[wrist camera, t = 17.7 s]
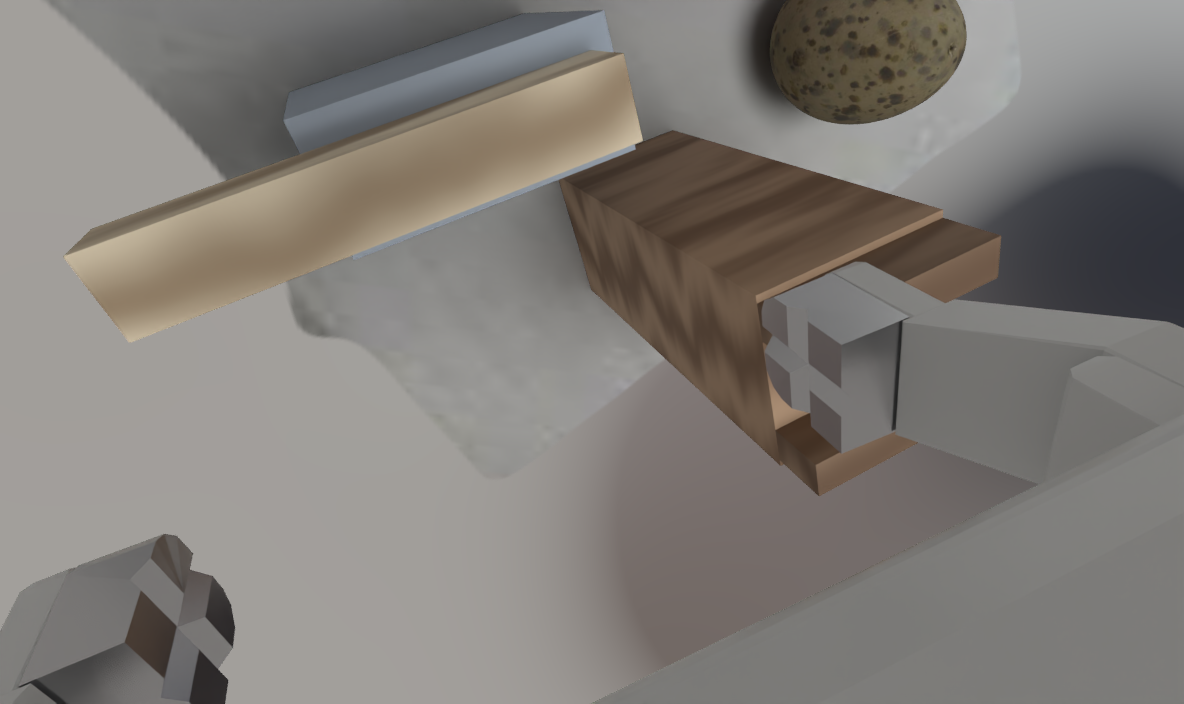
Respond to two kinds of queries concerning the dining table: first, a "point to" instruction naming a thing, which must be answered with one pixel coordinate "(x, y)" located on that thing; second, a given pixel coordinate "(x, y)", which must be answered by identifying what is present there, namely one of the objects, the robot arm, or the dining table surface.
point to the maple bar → (354, 193)
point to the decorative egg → (865, 55)
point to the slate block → (443, 84)
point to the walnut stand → (752, 270)
